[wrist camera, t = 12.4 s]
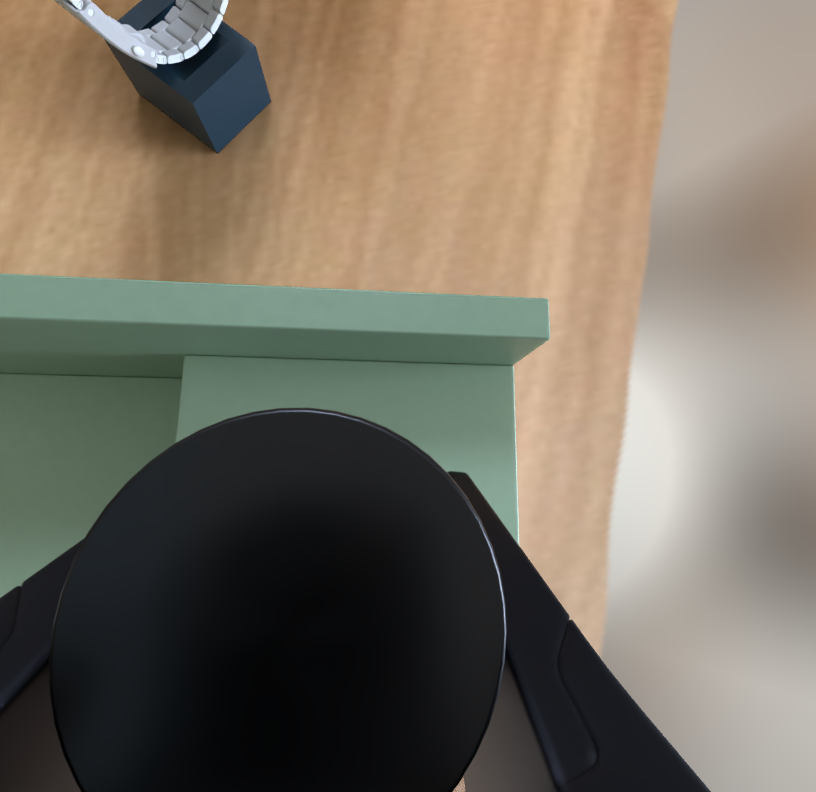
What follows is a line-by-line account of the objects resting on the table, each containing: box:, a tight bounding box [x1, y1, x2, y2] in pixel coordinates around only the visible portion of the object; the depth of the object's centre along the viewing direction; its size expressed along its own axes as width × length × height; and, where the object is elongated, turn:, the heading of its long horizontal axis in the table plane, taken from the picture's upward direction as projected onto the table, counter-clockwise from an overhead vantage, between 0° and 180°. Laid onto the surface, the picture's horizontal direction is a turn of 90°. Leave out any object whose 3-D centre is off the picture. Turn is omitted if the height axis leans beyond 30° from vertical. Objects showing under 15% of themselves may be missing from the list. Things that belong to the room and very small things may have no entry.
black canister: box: [49, 407, 507, 792], centre depth 8 cm, size 4×4×8 cm
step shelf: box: [0, 274, 550, 598], centre depth 15 cm, size 22×11×10 cm, turn 89°
